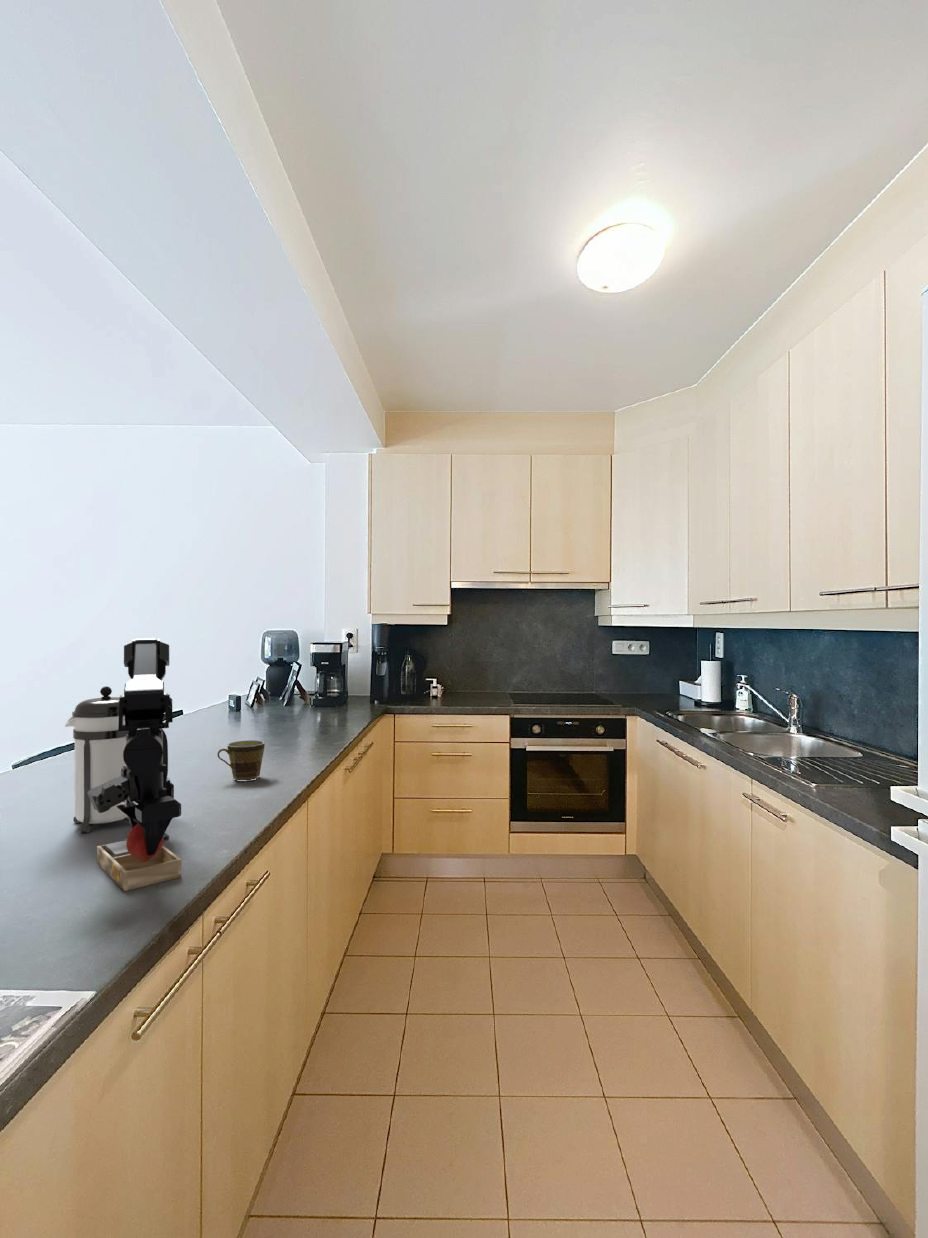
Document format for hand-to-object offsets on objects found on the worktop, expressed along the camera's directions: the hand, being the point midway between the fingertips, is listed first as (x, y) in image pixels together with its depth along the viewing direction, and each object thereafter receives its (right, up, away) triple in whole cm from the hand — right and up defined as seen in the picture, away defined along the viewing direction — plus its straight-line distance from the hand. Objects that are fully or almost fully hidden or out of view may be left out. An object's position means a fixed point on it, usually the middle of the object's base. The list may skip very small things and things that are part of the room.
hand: (145, 850), depth 113 cm
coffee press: (-23, -5, +32) cm, 39 cm away
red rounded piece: (0, -2, 0) cm, 2 cm away
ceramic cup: (-7, -5, +70) cm, 70 cm away
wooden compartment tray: (-3, -5, +3) cm, 6 cm away
